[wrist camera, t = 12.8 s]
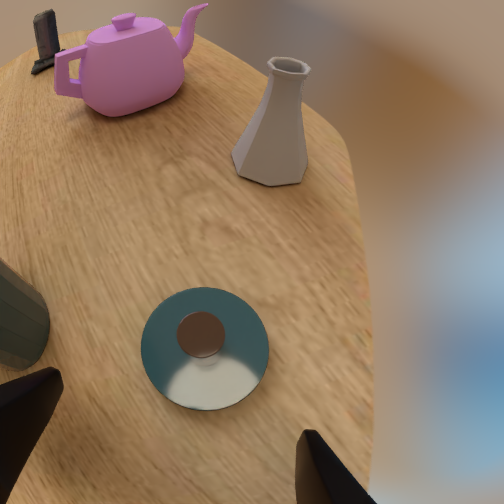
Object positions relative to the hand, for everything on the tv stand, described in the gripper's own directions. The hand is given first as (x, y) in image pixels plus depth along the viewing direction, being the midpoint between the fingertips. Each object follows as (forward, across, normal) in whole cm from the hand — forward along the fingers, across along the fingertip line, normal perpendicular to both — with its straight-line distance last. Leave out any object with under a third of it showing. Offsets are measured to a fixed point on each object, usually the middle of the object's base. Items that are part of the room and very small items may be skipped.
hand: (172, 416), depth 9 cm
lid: (+8, 0, +3) cm, 9 cm away
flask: (+21, -2, -9) cm, 23 cm away
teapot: (+28, +16, -16) cm, 37 cm away
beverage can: (+37, +43, -25) cm, 62 cm away
